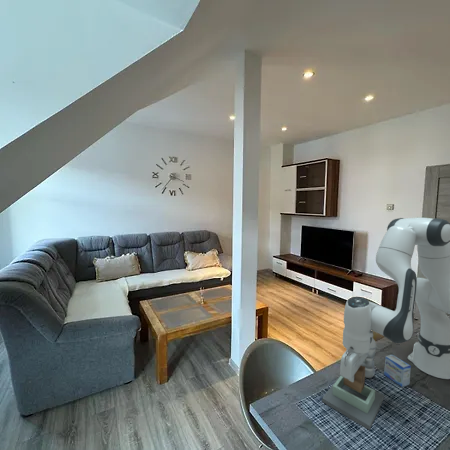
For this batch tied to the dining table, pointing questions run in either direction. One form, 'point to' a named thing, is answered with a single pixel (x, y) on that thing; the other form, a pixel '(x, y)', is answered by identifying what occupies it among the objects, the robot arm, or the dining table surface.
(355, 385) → the walnut block
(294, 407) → the dining table surface
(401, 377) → the medicine box
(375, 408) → the board
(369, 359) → the plastic bottle
